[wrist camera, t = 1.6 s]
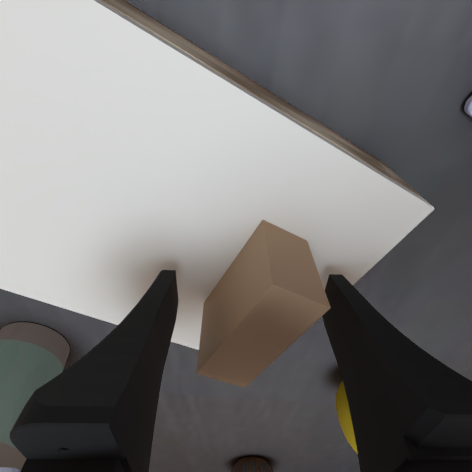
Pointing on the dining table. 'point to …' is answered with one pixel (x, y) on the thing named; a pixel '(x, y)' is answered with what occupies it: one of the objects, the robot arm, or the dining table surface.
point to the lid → (173, 189)
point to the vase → (252, 465)
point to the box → (250, 86)
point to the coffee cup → (25, 375)
